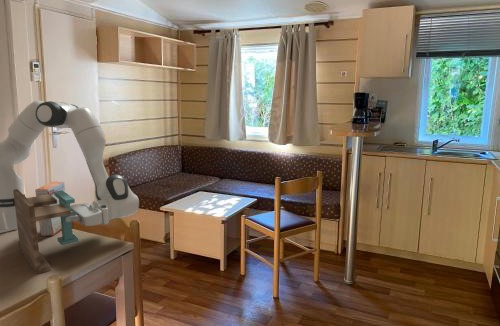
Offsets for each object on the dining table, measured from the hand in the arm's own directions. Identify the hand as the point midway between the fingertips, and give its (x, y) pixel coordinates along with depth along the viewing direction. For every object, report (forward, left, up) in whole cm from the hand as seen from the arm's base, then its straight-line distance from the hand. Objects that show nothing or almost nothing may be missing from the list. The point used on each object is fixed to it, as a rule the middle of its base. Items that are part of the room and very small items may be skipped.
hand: (63, 218), depth 148 cm
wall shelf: (-5, -5, -13) cm, 15 cm away
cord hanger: (+1, +1, -10) cm, 10 cm away
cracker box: (-16, +22, -14) cm, 30 cm away
